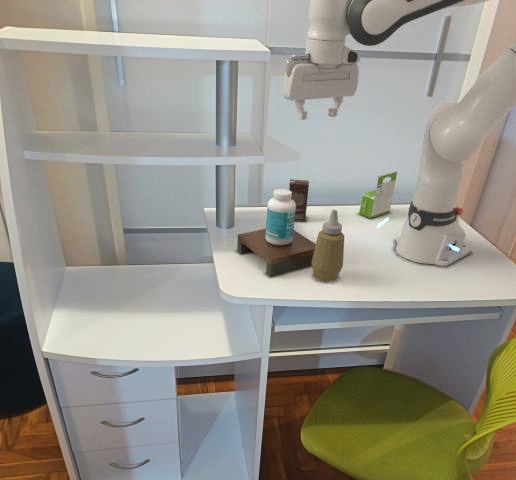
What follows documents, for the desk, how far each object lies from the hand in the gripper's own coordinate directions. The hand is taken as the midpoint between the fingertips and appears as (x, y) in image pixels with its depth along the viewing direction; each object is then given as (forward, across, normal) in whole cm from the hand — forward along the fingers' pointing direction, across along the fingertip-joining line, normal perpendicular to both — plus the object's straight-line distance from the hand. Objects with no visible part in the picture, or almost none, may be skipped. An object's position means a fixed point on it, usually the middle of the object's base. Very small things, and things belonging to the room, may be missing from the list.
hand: (317, 117), depth 125 cm
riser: (+35, -10, -2) cm, 37 cm away
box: (+35, +11, +19) cm, 42 cm away
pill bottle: (+30, -10, -2) cm, 32 cm away
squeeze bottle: (+35, -5, -16) cm, 39 cm away
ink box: (+35, +38, +11) cm, 53 cm away
